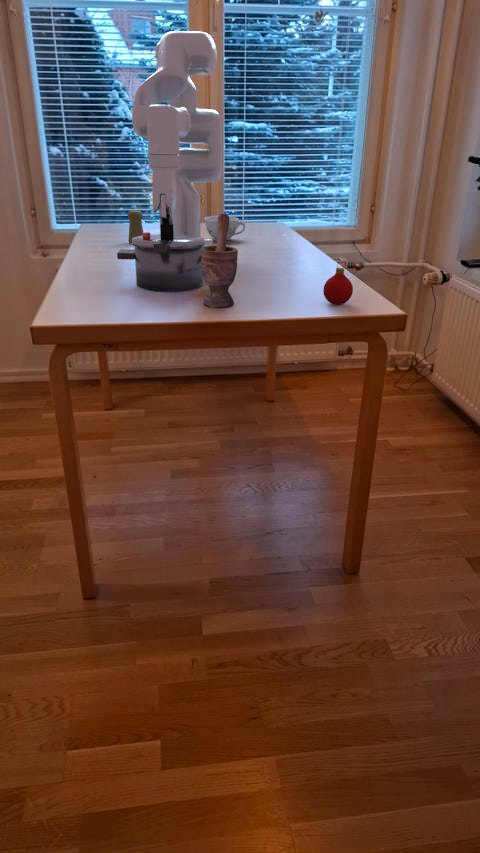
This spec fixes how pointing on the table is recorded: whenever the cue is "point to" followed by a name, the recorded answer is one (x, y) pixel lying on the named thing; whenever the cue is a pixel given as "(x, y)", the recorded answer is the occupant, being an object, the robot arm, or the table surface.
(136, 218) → the olive green tall piece
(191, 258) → the pot
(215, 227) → the teacup
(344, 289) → the christmas ornament
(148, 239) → the lid
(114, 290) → the table surface
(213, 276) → the mortar and pestle
